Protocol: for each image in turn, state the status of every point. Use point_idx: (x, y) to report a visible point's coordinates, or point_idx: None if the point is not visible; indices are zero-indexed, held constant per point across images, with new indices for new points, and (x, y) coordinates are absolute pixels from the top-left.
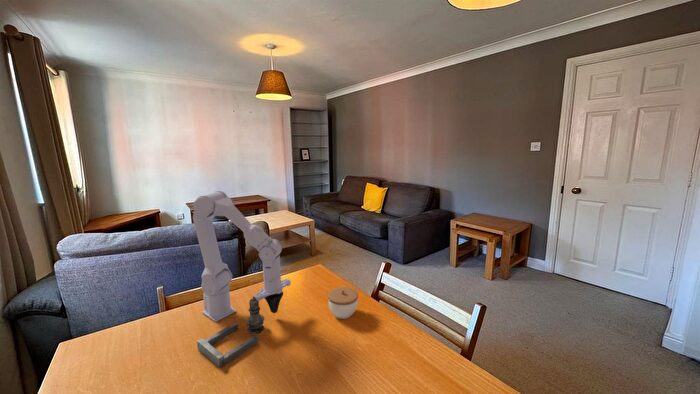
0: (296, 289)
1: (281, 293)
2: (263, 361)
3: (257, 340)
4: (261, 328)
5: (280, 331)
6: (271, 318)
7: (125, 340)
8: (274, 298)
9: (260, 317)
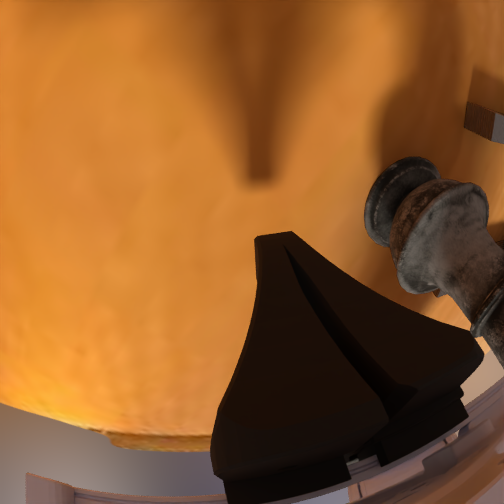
0: (22, 356)
1: (286, 458)
2: (500, 6)
3: (481, 107)
4: (404, 178)
5: (346, 44)
6: (278, 229)
7: None
8: (471, 361)
9: (453, 230)
